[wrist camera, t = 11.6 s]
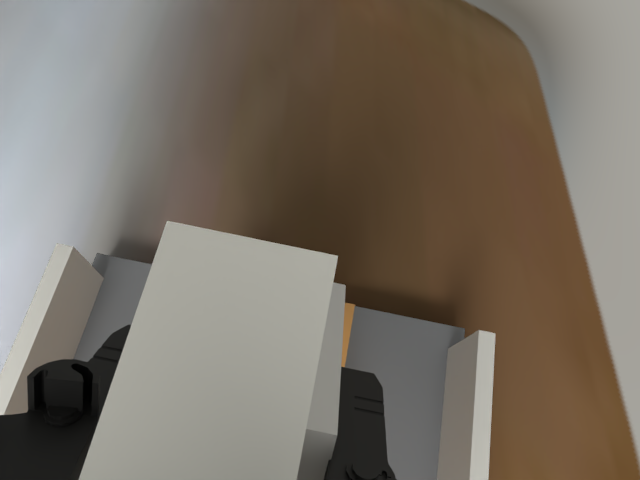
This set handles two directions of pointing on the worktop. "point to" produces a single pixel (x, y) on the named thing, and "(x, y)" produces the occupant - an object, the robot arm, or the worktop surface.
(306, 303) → the panel
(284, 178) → the worktop surface
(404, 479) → the rack
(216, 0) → the worktop surface
